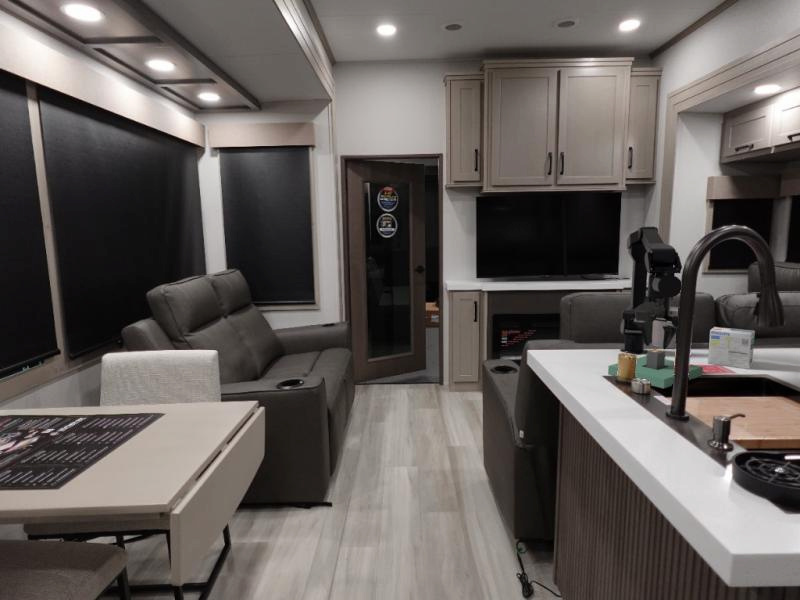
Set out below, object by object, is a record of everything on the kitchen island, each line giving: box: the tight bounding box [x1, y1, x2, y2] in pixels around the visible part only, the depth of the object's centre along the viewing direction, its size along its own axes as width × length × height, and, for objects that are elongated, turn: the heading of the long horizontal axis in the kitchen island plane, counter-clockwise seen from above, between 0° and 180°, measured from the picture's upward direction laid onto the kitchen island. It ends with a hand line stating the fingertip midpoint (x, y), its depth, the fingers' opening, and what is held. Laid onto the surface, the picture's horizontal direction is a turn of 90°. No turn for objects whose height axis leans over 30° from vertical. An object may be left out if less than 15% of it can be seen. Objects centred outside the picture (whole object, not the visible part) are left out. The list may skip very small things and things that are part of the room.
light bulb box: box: [707, 326, 756, 370], centre depth 145 cm, size 11×7×11 cm, turn 47°
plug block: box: [646, 348, 666, 370], centre depth 135 cm, size 4×3×7 cm
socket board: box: [607, 355, 704, 389], centre depth 136 cm, size 20×16×2 cm
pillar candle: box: [651, 306, 679, 350], centre depth 169 cm, size 10×10×15 cm
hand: (656, 347), depth 135 cm, fingers open, 5 cm apart
